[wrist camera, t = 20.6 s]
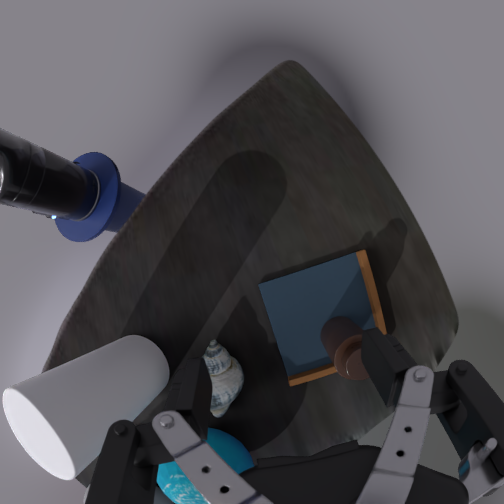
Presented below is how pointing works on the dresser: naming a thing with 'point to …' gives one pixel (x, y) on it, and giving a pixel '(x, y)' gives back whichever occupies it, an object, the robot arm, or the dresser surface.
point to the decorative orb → (182, 488)
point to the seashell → (223, 377)
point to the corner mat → (319, 310)
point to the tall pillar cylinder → (84, 402)
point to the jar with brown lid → (344, 347)
